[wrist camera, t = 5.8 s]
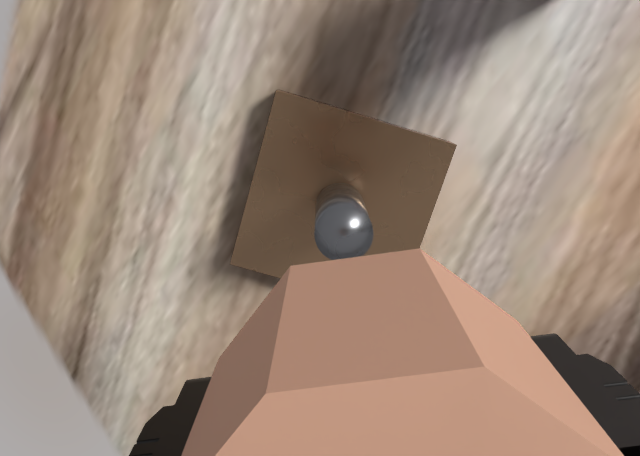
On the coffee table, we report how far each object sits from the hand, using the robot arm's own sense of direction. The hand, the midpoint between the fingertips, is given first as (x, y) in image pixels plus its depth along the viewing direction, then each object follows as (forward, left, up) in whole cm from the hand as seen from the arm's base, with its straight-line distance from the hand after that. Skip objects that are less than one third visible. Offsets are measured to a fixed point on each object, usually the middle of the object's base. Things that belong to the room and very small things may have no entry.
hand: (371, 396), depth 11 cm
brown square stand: (0, 0, -17) cm, 17 cm away
